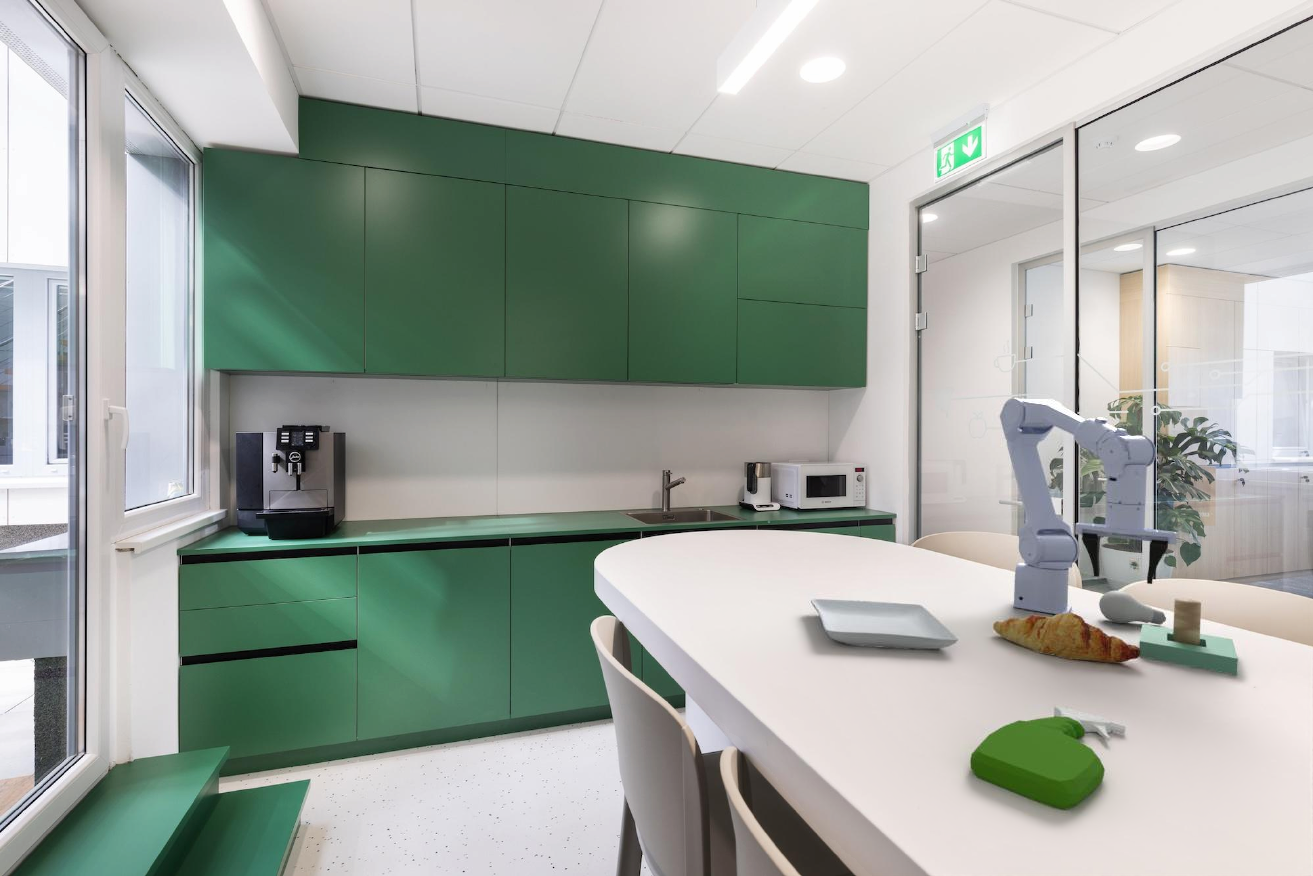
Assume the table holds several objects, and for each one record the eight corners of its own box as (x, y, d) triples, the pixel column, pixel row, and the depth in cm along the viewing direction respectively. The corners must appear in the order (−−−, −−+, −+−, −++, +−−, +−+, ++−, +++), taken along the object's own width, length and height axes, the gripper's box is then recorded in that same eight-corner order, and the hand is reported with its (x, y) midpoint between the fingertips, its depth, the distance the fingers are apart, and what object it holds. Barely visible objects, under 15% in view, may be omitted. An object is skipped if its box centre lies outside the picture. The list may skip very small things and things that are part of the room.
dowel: (1173, 655, 107) (1175, 601, 107) (1172, 650, 110) (1174, 597, 110) (1199, 660, 105) (1202, 605, 105) (1198, 654, 108) (1200, 600, 108)
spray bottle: (959, 775, 69) (1039, 713, 86) (1077, 822, 61) (1140, 744, 78) (960, 747, 69) (1039, 691, 86) (1078, 791, 61) (1141, 720, 78)
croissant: (988, 659, 114) (981, 623, 111) (1002, 621, 120) (996, 587, 117) (1138, 692, 99) (1135, 652, 97) (1145, 647, 106) (1142, 608, 103)
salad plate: (920, 619, 126) (921, 602, 126) (960, 658, 104) (961, 637, 104) (809, 614, 128) (809, 596, 128) (825, 651, 107) (826, 630, 107)
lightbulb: (1161, 600, 126) (1098, 583, 129) (1177, 607, 120) (1111, 589, 123) (1153, 630, 126) (1090, 613, 129) (1169, 639, 120) (1103, 621, 123)
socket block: (1138, 656, 106) (1139, 640, 106) (1141, 638, 116) (1142, 624, 116) (1237, 674, 99) (1237, 658, 99) (1231, 654, 108) (1232, 639, 108)
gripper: (1074, 501, 117) (1071, 576, 117) (1177, 509, 108) (1174, 590, 108) (1078, 498, 122) (1076, 570, 123) (1177, 505, 113) (1174, 582, 114)
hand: (1122, 579), depth 116 cm, fingers open, 7 cm apart
